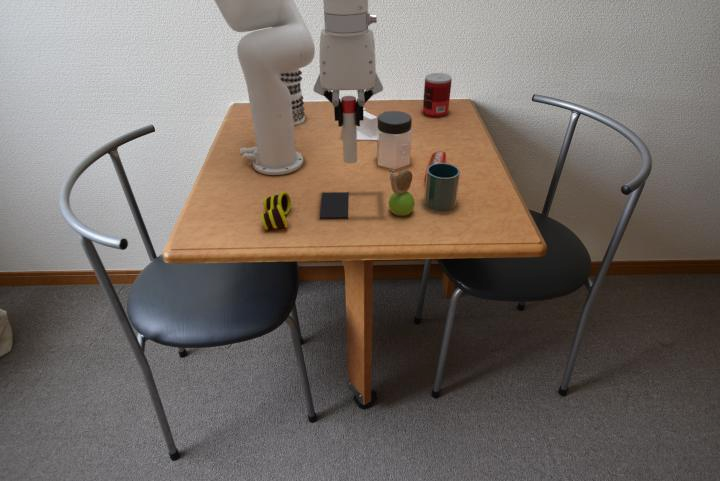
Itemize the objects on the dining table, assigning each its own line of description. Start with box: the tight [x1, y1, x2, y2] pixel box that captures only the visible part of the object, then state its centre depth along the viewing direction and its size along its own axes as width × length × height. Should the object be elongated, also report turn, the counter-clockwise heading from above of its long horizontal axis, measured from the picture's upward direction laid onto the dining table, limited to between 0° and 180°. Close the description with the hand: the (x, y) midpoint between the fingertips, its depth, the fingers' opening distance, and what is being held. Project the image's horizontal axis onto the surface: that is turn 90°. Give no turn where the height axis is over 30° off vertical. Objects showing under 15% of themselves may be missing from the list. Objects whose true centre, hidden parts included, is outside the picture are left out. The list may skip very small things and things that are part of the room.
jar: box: [376, 110, 413, 170], centre depth 116 cm, size 9×8×12 cm
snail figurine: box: [388, 168, 416, 217], centre depth 97 cm, size 5×6×12 cm
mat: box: [319, 191, 350, 220], centre depth 104 cm, size 13×10×1 cm
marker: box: [340, 95, 358, 164], centre depth 93 cm, size 3×3×13 cm
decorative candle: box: [279, 68, 306, 126], centre depth 135 cm, size 9×9×25 cm
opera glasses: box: [260, 190, 292, 231], centre depth 99 cm, size 10×5×5 cm, turn 2°
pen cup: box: [423, 162, 461, 212], centre depth 102 cm, size 7×7×8 cm
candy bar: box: [424, 150, 447, 185], centre depth 114 cm, size 16×4×3 cm, turn 165°
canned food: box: [422, 72, 453, 118], centre depth 142 cm, size 8×8×11 cm
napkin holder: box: [357, 107, 378, 141], centre depth 135 cm, size 15×11×6 cm
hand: (349, 122), depth 92 cm, fingers closed on marker, 2 cm apart
